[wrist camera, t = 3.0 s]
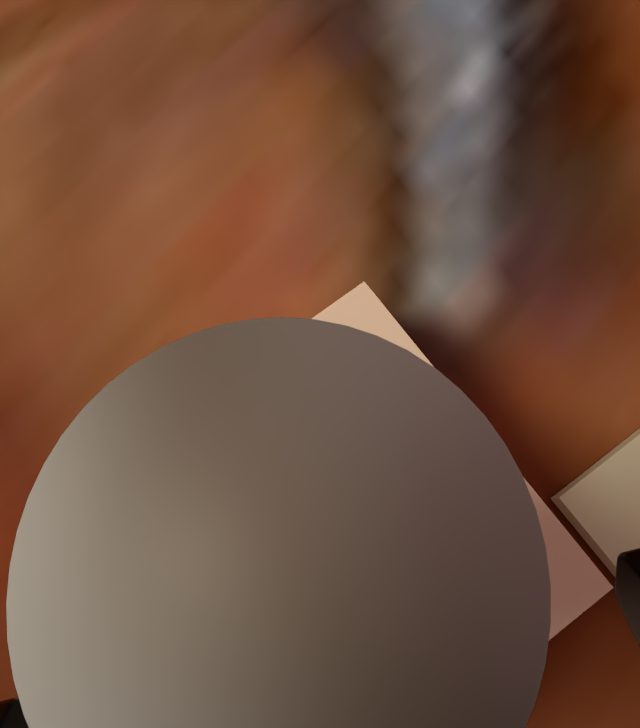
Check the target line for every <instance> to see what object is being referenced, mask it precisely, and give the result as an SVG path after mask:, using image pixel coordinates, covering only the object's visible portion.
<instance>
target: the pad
mask: <svg viewBox="0 0 640 728" xmlns="http://www.w3.org/2000/svg"><path fill="white" fill-rule="evenodd" d="M550 499H551V500H552V501H553V502H554V504H555V505H556V506H557V507H558V509H559V510H560V511H561V512H562V513H563V515H564V516H565V517H566V518H567V520H568V521H569V522H570V523H571V524H572V526H573V527H574V528H575V529H576V531H577V532H578V533H579V534H580V535H581V537H582V538H583V539H584V540H585V542H586V543H587V544H588V545H589V546H590V548H591V549H592V550H593V551H594V553H595V554H596V555H597V556H598V557H599V559H600V560H601V561H602V562H603V564H604V565H605V566H606V567H607V568H608V570H609V571H610V572H611V573H612V575H613V576H614V577H616V565H617V557H618V555H619V554H620V553H622V552H625V551H629V550H633V549H638V548H640V429H638V430H637V431H636V432H634V433H633V434H632V435H631V436H629V437H628V438H627V439H625V440H624V441H623V442H622V443H620V444H619V445H618V446H617V447H615V448H614V449H613V450H611V451H610V452H609V453H608V454H606V455H605V456H604V457H603V458H601V459H600V460H599V461H597V462H596V463H595V464H594V465H592V466H591V467H590V468H589V469H587V470H586V471H585V472H583V473H582V474H581V475H580V476H578V477H577V478H576V479H575V480H573V481H572V482H571V483H569V484H568V485H567V486H566V487H564V488H563V489H562V490H561V491H559V492H558V493H557V494H555V495H554V496H553V497H552V498H550Z"/></svg>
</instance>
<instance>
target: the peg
mask: <svg viewBox="0 0 640 728" xmlns="http://www.w3.org/2000/svg"><path fill="white" fill-rule="evenodd" d="M6 611H7V641H8V648H9V654H10V661H11V667H12V674H13V680H14V683H15V687H16V690H17V694H18V697H19V701H20V704H21V708H22V711H23V715H24V717H25V720H26V722H27V724H28V727H29V728H526V725H527V723H528V721H529V718H530V716H531V713H532V711H533V708H534V706H535V703H536V700H537V696H538V692H539V688H540V684H541V680H542V676H543V673H544V669H545V665H546V658H547V650H548V642H549V634H550V626H551V584H550V576H549V568H548V561H547V553H546V546H545V542H544V538H543V534H542V530H541V526H540V523H539V519H538V515H537V511H536V508H535V506H534V503H533V500H532V498H531V495H530V493H529V490H528V488H527V485H526V483H525V480H524V478H523V475H522V473H521V472H520V470H519V468H518V466H517V464H516V462H515V461H514V459H513V457H512V455H511V453H510V451H509V450H508V448H507V446H506V444H505V443H504V441H503V440H502V439H501V437H500V436H499V434H498V433H497V432H496V430H495V429H494V427H493V426H492V425H491V423H490V422H489V420H488V419H487V418H486V416H485V415H484V414H483V413H482V412H481V411H480V410H479V408H478V407H477V406H476V405H475V404H474V403H473V402H472V401H471V400H470V399H469V398H468V397H467V396H466V395H465V393H464V392H463V391H462V390H461V389H460V388H458V387H457V386H456V385H455V384H454V383H452V382H451V381H450V380H449V379H448V378H446V377H445V376H444V375H443V374H442V373H441V372H439V371H438V370H437V369H436V368H434V367H433V366H431V365H430V364H428V363H427V362H425V361H423V360H422V359H420V358H419V357H417V356H416V355H414V354H413V353H411V352H410V351H408V350H406V349H404V348H402V347H400V346H398V345H396V344H394V343H392V342H389V341H387V340H385V339H383V338H381V337H379V336H377V335H374V334H371V333H368V332H365V331H362V330H359V329H356V328H353V327H349V326H346V325H341V324H336V323H331V322H326V321H321V320H316V319H302V318H287V317H279V318H261V319H249V320H244V321H238V322H233V323H227V324H222V325H218V326H215V327H212V328H209V329H205V330H202V331H199V332H196V333H193V334H190V335H187V336H185V337H183V338H181V339H179V340H176V341H174V342H172V343H170V344H168V345H165V346H163V347H161V348H159V349H158V350H156V351H154V352H153V353H151V354H149V355H148V356H146V357H144V358H143V359H141V360H139V361H138V362H136V363H134V364H133V365H132V366H130V367H129V368H128V369H126V370H125V371H124V372H123V373H121V374H120V375H119V376H117V377H116V378H115V379H114V380H112V381H111V382H110V383H109V384H107V385H106V386H105V387H104V388H103V389H102V390H101V391H100V392H99V393H98V394H97V395H96V396H95V397H94V398H93V399H92V400H91V401H90V402H89V403H88V404H87V405H86V406H85V407H84V408H83V409H82V410H81V412H80V413H79V414H78V415H77V417H76V418H75V419H74V420H73V422H72V423H71V424H70V426H69V427H68V428H67V429H66V431H65V432H64V433H63V434H62V436H61V437H60V439H59V441H58V442H57V444H56V445H55V447H54V449H53V450H52V452H51V453H50V455H49V457H48V458H47V460H46V461H45V463H44V465H43V467H42V469H41V471H40V473H39V475H38V477H37V480H36V482H35V484H34V486H33V488H32V490H31V492H30V494H29V497H28V500H27V503H26V505H25V508H24V511H23V514H22V517H21V520H20V523H19V526H18V529H17V533H16V538H15V543H14V548H13V552H12V557H11V562H10V567H9V578H8V590H7V601H6Z"/></svg>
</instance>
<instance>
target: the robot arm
mask: <svg viewBox="0 0 640 728" xmlns="http://www.w3.org/2000/svg"><path fill="white" fill-rule="evenodd" d="M615 594H616V598H617V601H618V603H619V605H620V608H621V610H622V612H623V614H624V616H625V618H626V620H627V622H628V624H629V626H630V628H631V630H632V632H633V634H634V636H635V638H636V640H637V642H638V644H639V646H640V548H638V549H633V550H629V551H625V552H622V553H620V554H619V555H618V557H617V565H616V577H615ZM0 728H29V727H28V724H27V722H26V720H25V717H24V715H23V711H22V708H21V704H20V701H19V698H12V699H8V700H4V701H0Z"/></svg>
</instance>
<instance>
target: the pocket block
mask: <svg viewBox="0 0 640 728" xmlns="http://www.w3.org/2000/svg"><path fill="white" fill-rule="evenodd" d="M312 319H316V320H321V321H326V322H331V323H336V324H341V325H346V326H349V327H353V328H356V329H359V330H362V331H365V332H368V333H371V334H374V335H377V336H379V337H381V338H383V339H385V340H387V341H389V342H392V343H394V344H396V345H398V346H400V347H402V348H404V349H406V350H408V351H410V352H411V353H413V354H414V355H416V356H417V357H419V358H420V359H422V360H423V361H425V362H427V363H428V364H430V365H431V366H433V365H432V364H431V363H430V362H429V360H428V359H427V358H426V357H425V355H424V354H423V353H422V352H421V351H420V349H419V348H418V347H417V346H416V344H415V343H414V342H413V341H412V340H411V338H410V337H409V336H408V335H407V333H406V332H405V331H404V330H403V328H402V327H401V326H400V325H399V324H398V322H397V321H396V320H395V319H394V317H393V316H392V315H391V314H390V312H389V311H388V310H387V309H386V308H385V306H384V305H383V304H382V303H381V301H380V300H379V299H378V298H377V297H376V295H375V294H374V293H373V292H372V290H371V289H370V288H369V287H368V285H367V284H366V283H365V282H363V283H361V284H360V285H358V286H357V287H356V288H354V289H353V290H351V291H350V292H349V293H347V294H346V295H344V296H343V297H342V298H340V299H339V300H337V301H336V302H334V303H333V304H332V305H330V306H329V307H327V308H326V309H325V310H323V311H322V312H320V313H319V314H317V315H316V316H315V317H313V318H312ZM523 478H524V477H523ZM524 480H525V478H524ZM525 483H526V485H527V488H528V490H529V493H530V495H531V498H532V500H533V503H534V506H535V508H536V511H537V515H538V519H539V523H540V526H541V530H542V534H543V538H544V542H545V546H546V553H547V561H548V568H549V576H550V584H551V626H550V634H549V640H550V639H551V638H553V637H554V636H555V635H556V634H557V633H559V632H560V631H561V630H562V629H564V628H565V627H566V626H567V625H568V624H570V623H571V622H572V621H573V620H575V619H576V618H577V617H578V616H580V615H581V614H582V613H583V612H584V611H586V610H587V609H588V608H589V607H591V606H592V605H593V604H594V603H595V602H597V601H598V600H599V599H600V598H602V597H603V596H604V595H605V594H606V593H608V592H609V591H610V590H611V589H613V586H612V585H611V584H610V583H609V582H608V580H607V579H606V578H605V577H604V575H603V574H602V573H601V572H600V570H599V569H598V568H597V567H596V566H595V564H594V563H593V562H592V561H591V559H590V558H589V557H588V556H587V555H586V553H585V552H584V551H583V550H582V548H581V547H580V546H579V545H578V543H577V542H576V541H575V540H574V539H573V537H572V536H571V535H570V534H569V532H568V531H567V530H566V529H565V527H564V526H563V525H562V524H561V523H560V521H559V520H558V519H557V518H556V516H555V515H554V514H553V513H552V512H551V510H550V509H549V508H548V507H547V505H546V504H545V503H544V502H543V500H542V499H541V498H540V497H539V496H538V494H537V493H536V492H535V491H534V489H533V488H532V487H531V486H530V484H529V483H528V482H527V481H526V480H525Z"/></svg>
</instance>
